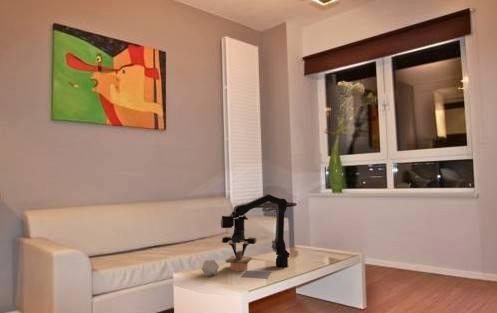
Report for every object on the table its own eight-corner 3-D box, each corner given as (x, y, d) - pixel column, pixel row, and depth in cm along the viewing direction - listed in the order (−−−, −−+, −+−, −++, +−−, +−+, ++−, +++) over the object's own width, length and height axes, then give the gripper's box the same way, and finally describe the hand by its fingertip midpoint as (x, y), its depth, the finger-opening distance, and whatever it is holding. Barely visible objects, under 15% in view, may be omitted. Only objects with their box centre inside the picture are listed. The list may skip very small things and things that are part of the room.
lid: (251, 259, 211) (251, 250, 211) (247, 263, 199) (247, 254, 200) (231, 257, 214) (231, 249, 214) (225, 262, 202) (225, 253, 202)
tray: (271, 273, 199) (271, 272, 199) (267, 280, 185) (267, 278, 186) (246, 271, 202) (246, 270, 202) (240, 278, 189) (240, 277, 189)
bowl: (249, 268, 210) (249, 259, 210) (245, 272, 200) (245, 263, 201) (232, 267, 212) (233, 258, 212) (228, 271, 203) (228, 262, 203)
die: (216, 273, 200) (205, 259, 201) (224, 268, 194) (213, 253, 195) (206, 282, 193) (195, 267, 194) (214, 277, 188) (203, 261, 189)
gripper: (219, 229, 202) (219, 257, 201) (252, 230, 198) (252, 259, 197) (224, 226, 213) (224, 253, 212) (256, 227, 209) (256, 255, 208)
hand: (239, 255), depth 207 cm, fingers open, 4 cm apart
